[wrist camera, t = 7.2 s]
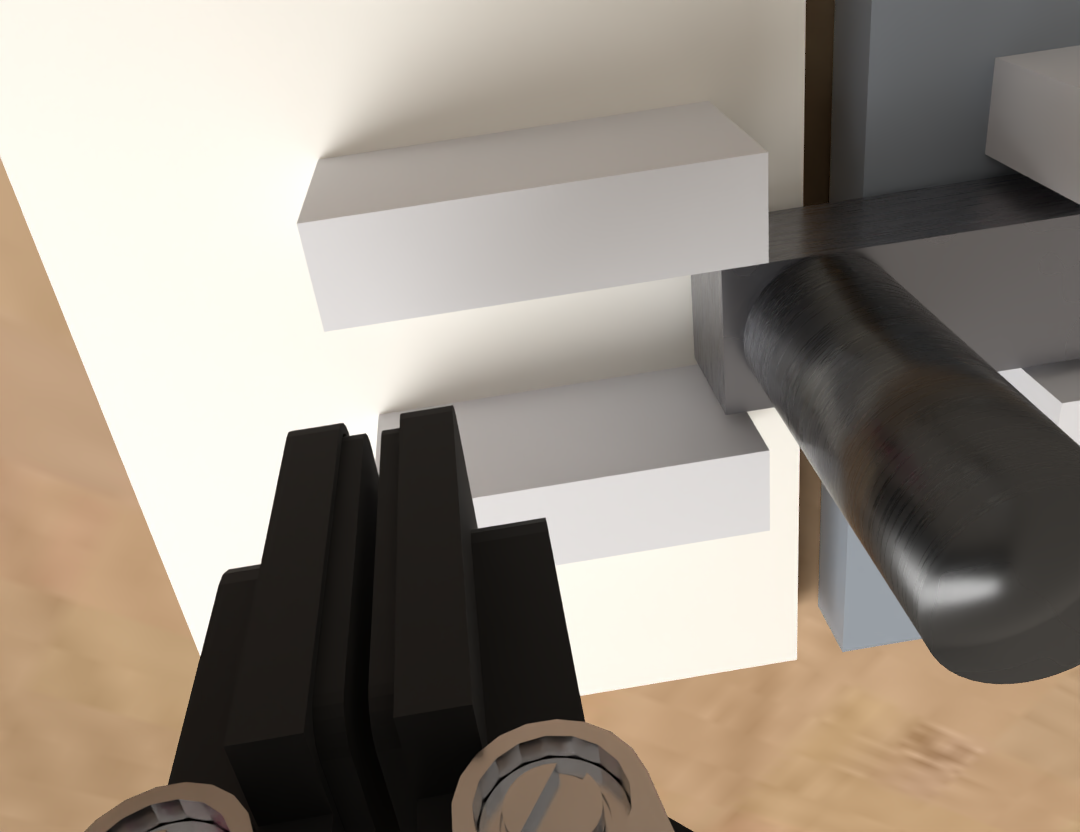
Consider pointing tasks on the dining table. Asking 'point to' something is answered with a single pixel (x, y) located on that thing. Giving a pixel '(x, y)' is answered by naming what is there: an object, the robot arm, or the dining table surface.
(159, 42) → the assembly fixture board
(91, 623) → the dining table surface
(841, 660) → the dining table surface
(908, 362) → the bolt
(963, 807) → the dining table surface
